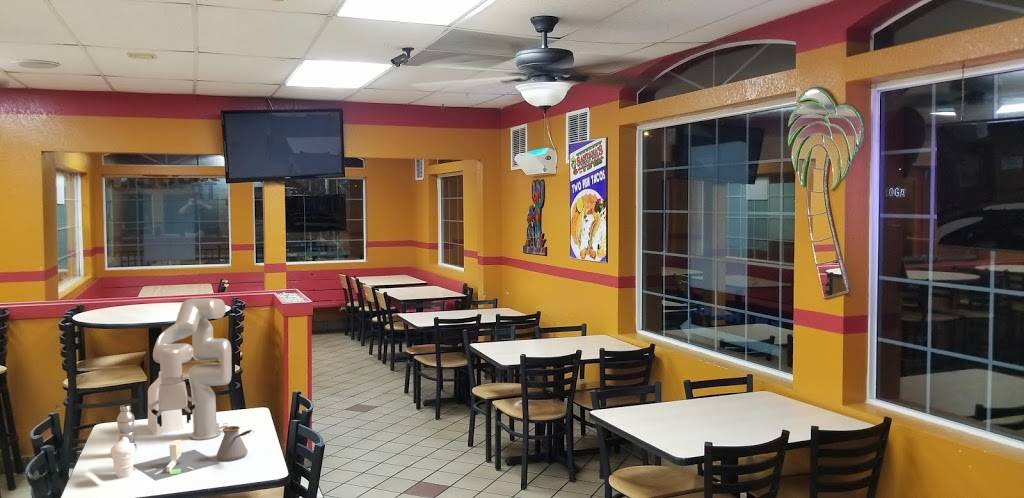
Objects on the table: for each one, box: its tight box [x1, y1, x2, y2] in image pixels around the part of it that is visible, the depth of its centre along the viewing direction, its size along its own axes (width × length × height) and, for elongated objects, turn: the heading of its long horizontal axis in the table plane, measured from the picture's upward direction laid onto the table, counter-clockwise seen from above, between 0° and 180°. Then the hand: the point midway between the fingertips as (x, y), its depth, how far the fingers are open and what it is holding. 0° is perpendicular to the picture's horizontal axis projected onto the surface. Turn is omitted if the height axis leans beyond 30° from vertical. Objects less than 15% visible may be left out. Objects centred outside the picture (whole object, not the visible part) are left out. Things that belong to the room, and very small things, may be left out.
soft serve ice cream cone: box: [109, 437, 137, 479], centre depth 277 cm, size 8×8×16 cm
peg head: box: [166, 439, 182, 472], centre depth 285 cm, size 13×2×8 cm, turn 8°
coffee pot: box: [216, 425, 255, 462], centre depth 293 cm, size 21×12×15 cm, turn 49°
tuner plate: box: [133, 449, 221, 481], centre depth 289 cm, size 24×24×2 cm
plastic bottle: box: [116, 404, 138, 452], centre depth 306 cm, size 6×7×20 cm
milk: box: [147, 371, 184, 436], centre depth 340 cm, size 12×12×26 cm
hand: (174, 423), depth 289 cm, fingers open, 9 cm apart
